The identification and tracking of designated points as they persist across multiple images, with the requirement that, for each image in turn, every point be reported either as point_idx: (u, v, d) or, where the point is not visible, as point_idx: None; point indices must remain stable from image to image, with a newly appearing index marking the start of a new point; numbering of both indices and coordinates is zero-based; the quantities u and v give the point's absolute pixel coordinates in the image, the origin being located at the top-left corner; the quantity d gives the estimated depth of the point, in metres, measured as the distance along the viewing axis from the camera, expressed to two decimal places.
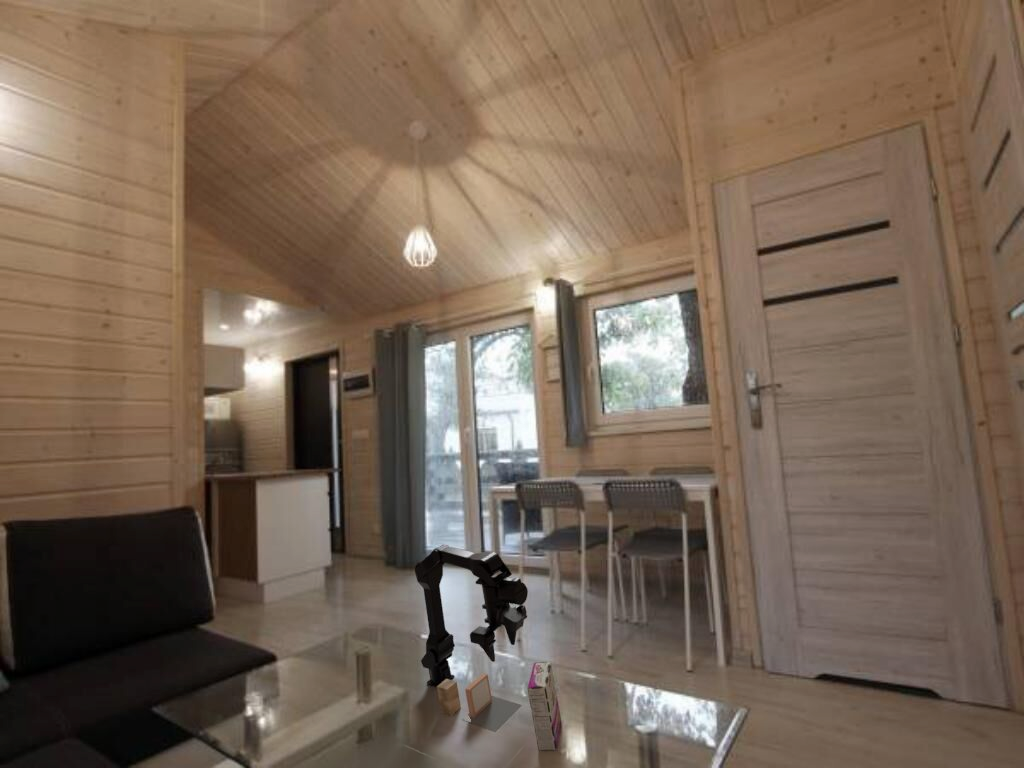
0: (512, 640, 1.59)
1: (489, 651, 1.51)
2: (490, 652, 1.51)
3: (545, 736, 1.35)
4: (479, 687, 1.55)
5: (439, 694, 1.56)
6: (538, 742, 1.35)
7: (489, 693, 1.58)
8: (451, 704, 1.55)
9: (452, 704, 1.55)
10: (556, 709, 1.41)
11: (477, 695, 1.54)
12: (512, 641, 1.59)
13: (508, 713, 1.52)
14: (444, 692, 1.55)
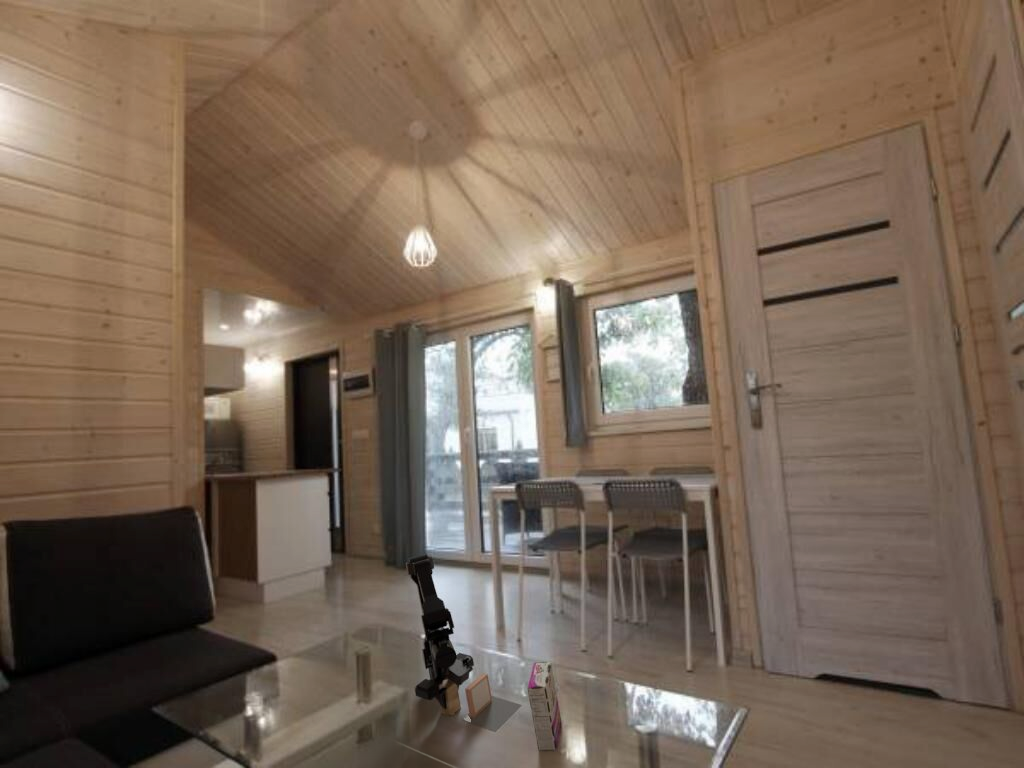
0: None
1: (440, 699, 1.54)
2: (441, 700, 1.54)
3: (545, 736, 1.35)
4: (479, 687, 1.55)
5: None
6: (538, 742, 1.35)
7: (489, 693, 1.58)
8: (451, 704, 1.55)
9: (452, 704, 1.55)
10: (556, 709, 1.41)
11: (477, 695, 1.54)
12: None
13: (508, 713, 1.52)
14: None
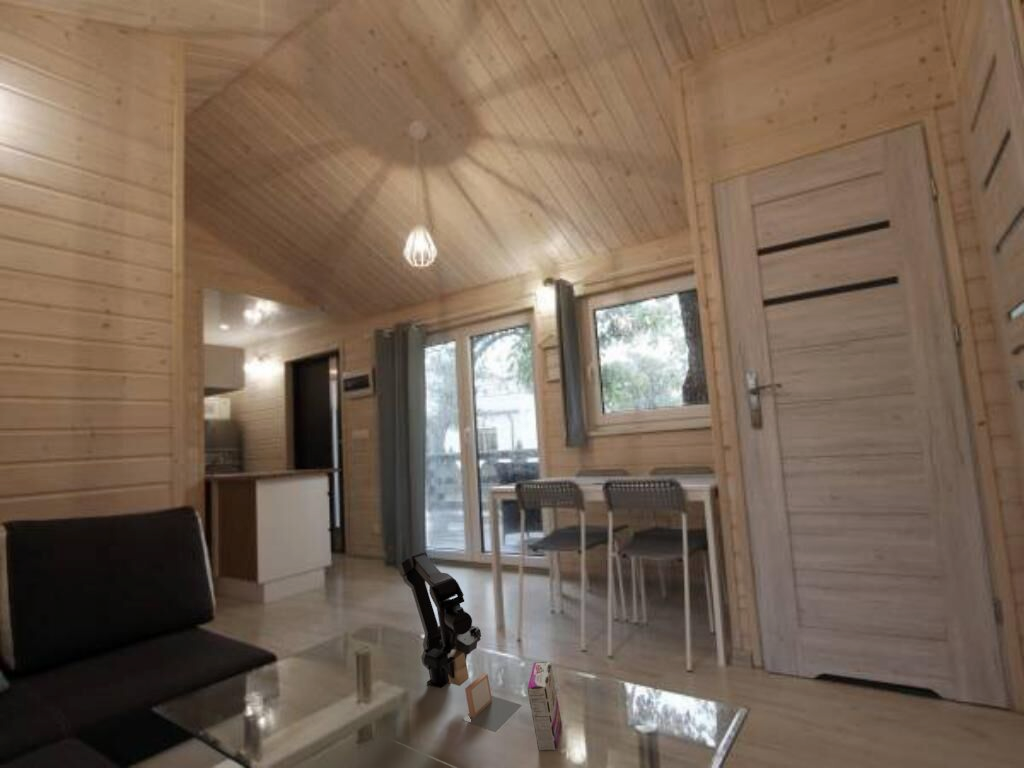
0: None
1: (448, 668, 1.57)
2: (449, 669, 1.57)
3: (545, 736, 1.35)
4: (479, 687, 1.55)
5: None
6: (538, 742, 1.35)
7: (489, 693, 1.58)
8: (459, 673, 1.57)
9: (460, 674, 1.58)
10: (556, 709, 1.41)
11: (477, 695, 1.54)
12: None
13: (508, 713, 1.52)
14: None
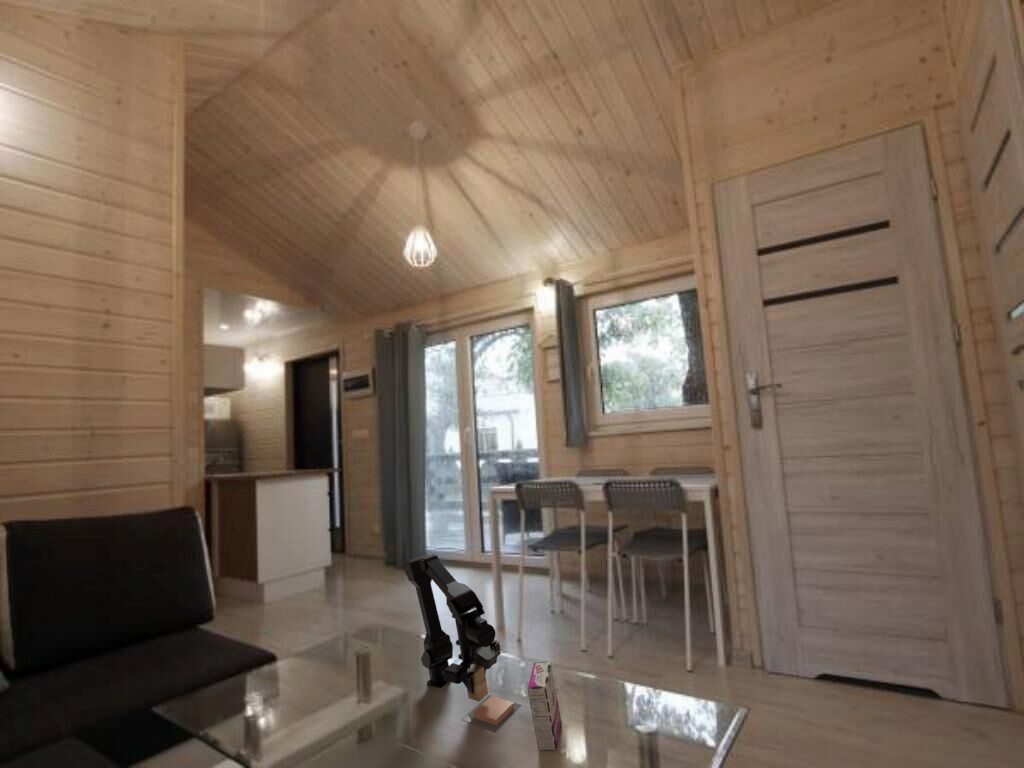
0: None
1: (468, 683, 1.53)
2: (469, 684, 1.52)
3: (545, 736, 1.35)
4: None
5: None
6: (538, 742, 1.35)
7: None
8: (479, 689, 1.53)
9: (480, 689, 1.54)
10: (556, 709, 1.41)
11: None
12: None
13: None
14: (472, 676, 1.53)
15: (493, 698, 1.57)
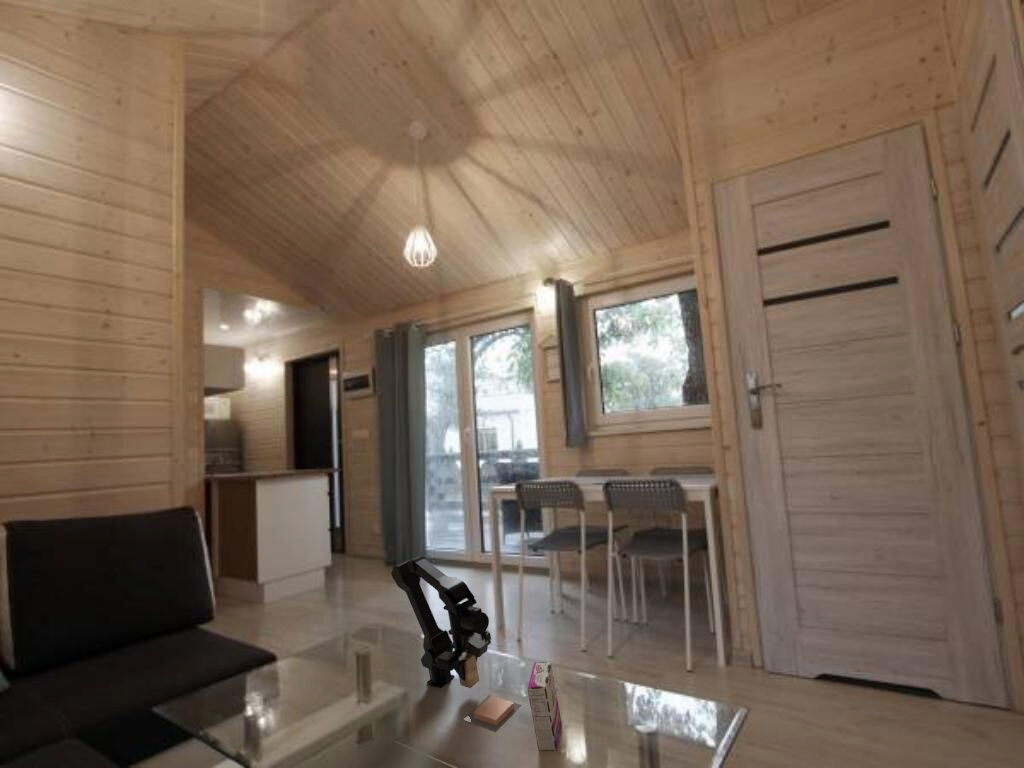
0: None
1: (460, 671, 1.60)
2: (461, 672, 1.60)
3: (545, 736, 1.35)
4: None
5: None
6: (538, 742, 1.35)
7: None
8: (470, 676, 1.61)
9: (471, 676, 1.61)
10: (556, 709, 1.41)
11: None
12: None
13: None
14: None
15: (493, 698, 1.57)
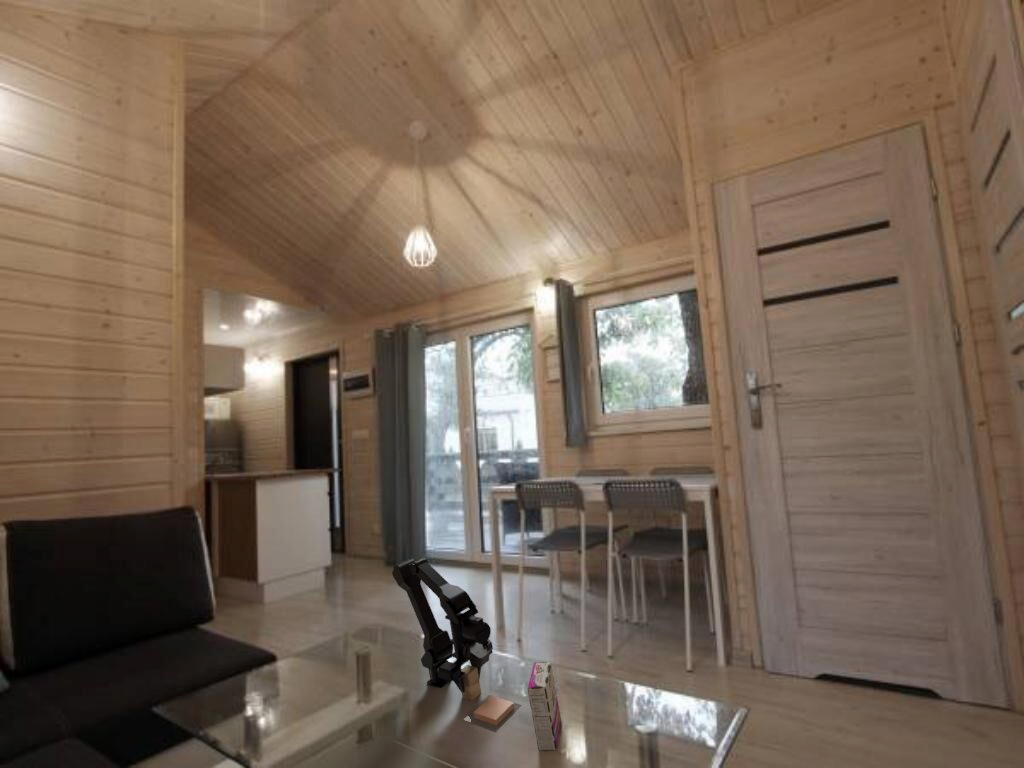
0: None
1: (459, 683, 1.59)
2: (460, 684, 1.59)
3: (545, 736, 1.35)
4: None
5: None
6: (538, 742, 1.35)
7: None
8: (472, 689, 1.61)
9: (473, 689, 1.61)
10: (556, 709, 1.41)
11: None
12: None
13: None
14: (465, 677, 1.61)
15: (493, 698, 1.57)
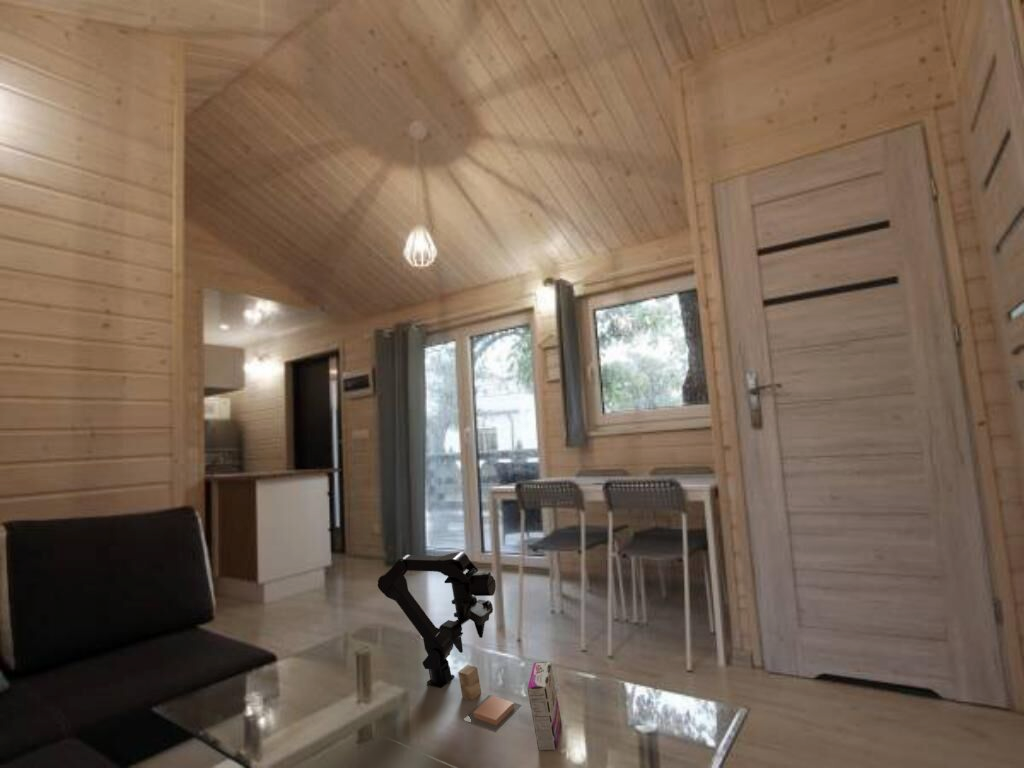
0: (480, 633, 1.72)
1: (457, 643, 1.64)
2: (458, 644, 1.64)
3: (545, 736, 1.35)
4: None
5: (460, 679, 1.62)
6: (538, 742, 1.35)
7: None
8: (472, 689, 1.61)
9: (473, 689, 1.61)
10: (556, 709, 1.41)
11: None
12: (480, 634, 1.72)
13: None
14: (465, 677, 1.61)
15: (493, 698, 1.57)
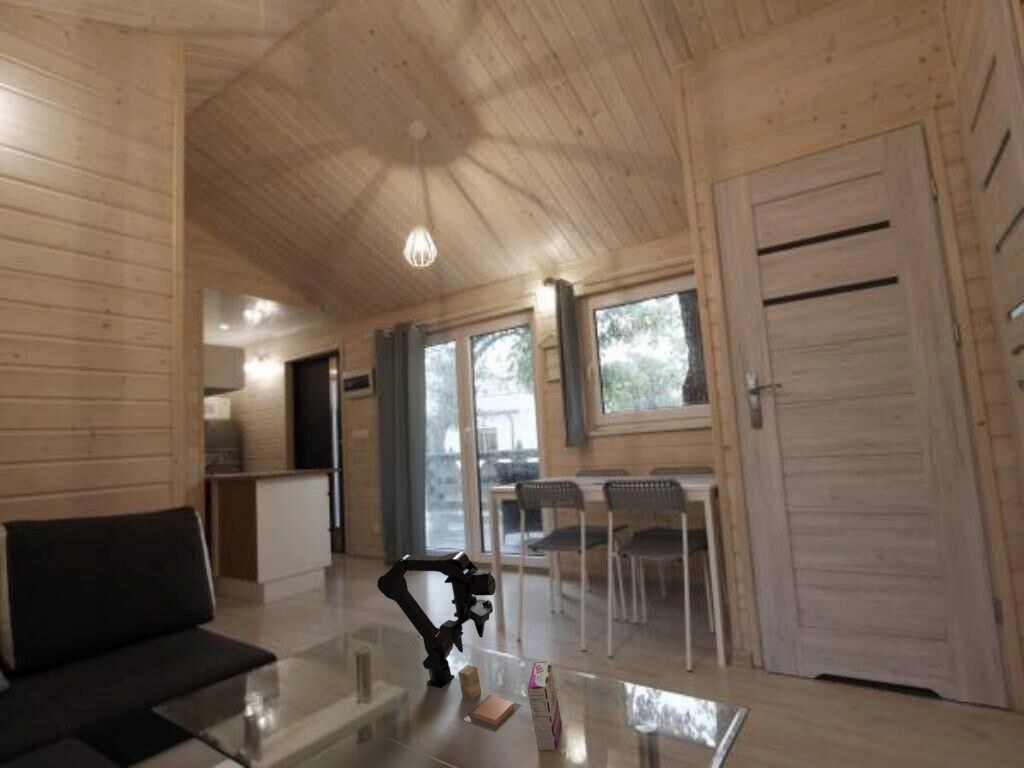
0: (480, 633, 1.73)
1: (457, 643, 1.64)
2: (458, 643, 1.64)
3: (545, 736, 1.35)
4: None
5: (460, 679, 1.62)
6: (538, 742, 1.35)
7: None
8: (472, 689, 1.61)
9: (473, 689, 1.61)
10: (556, 709, 1.41)
11: None
12: (480, 634, 1.73)
13: None
14: (465, 677, 1.61)
15: (493, 698, 1.57)
